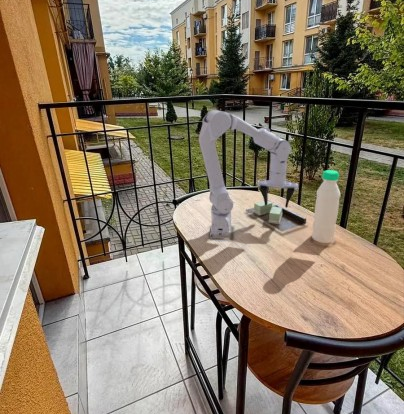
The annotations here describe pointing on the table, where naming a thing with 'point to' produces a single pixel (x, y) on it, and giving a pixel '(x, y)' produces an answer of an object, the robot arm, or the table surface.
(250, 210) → the dark grey tray
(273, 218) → the pale green block
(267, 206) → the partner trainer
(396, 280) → the table surface
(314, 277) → the table surface
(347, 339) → the table surface
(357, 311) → the table surface
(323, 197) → the water bottle
